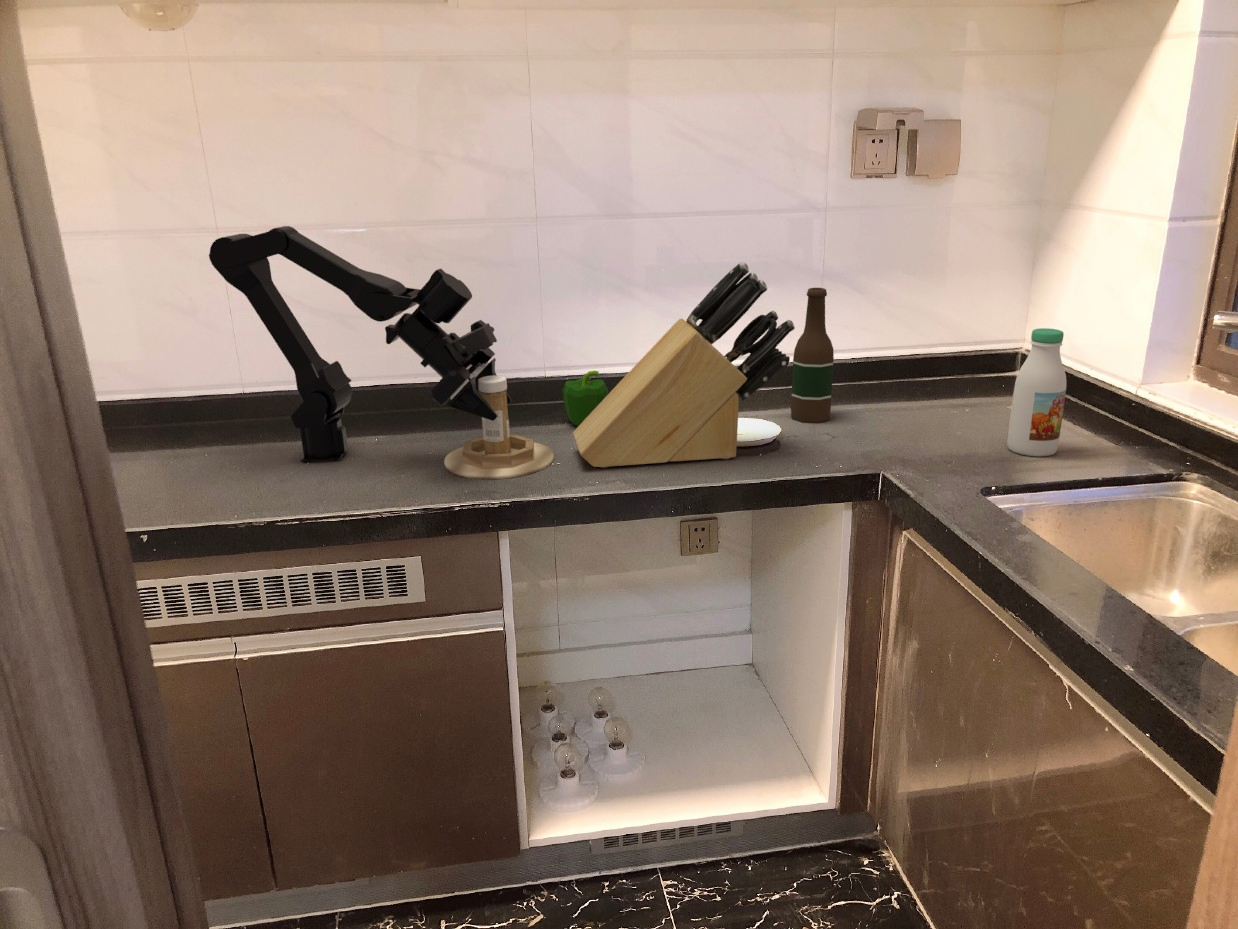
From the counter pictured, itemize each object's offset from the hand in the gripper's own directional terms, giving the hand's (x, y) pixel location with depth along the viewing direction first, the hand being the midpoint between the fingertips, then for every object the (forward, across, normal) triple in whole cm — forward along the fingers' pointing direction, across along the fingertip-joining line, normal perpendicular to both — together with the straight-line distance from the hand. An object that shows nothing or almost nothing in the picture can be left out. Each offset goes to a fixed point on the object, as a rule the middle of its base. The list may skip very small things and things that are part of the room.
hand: (502, 410), depth 149 cm
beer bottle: (+43, +28, -30) cm, 59 cm away
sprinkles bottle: (+5, 0, +7) cm, 8 cm away
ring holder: (+5, 0, +7) cm, 9 cm away
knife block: (+27, +6, -14) cm, 31 cm away
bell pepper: (+13, +22, -1) cm, 25 cm away
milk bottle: (+67, +11, -55) cm, 88 cm away
